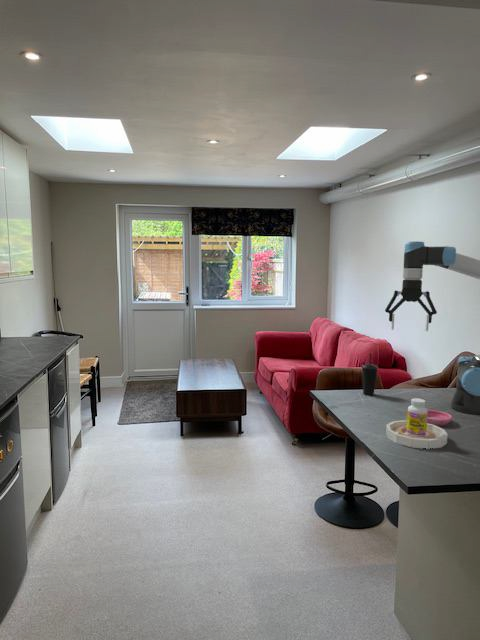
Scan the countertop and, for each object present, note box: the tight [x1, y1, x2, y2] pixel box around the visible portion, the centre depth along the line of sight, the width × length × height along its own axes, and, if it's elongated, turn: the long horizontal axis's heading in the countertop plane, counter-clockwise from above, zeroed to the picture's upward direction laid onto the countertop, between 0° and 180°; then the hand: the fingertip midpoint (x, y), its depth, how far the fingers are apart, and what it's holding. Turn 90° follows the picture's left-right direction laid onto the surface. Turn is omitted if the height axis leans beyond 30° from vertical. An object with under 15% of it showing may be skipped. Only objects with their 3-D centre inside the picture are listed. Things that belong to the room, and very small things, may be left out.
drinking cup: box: [361, 352, 379, 397], centre depth 221 cm, size 8×8×20 cm
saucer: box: [427, 409, 453, 427], centre depth 184 cm, size 12×12×3 cm
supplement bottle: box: [406, 397, 429, 437], centre depth 165 cm, size 7×7×13 cm
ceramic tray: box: [385, 419, 448, 450], centre depth 166 cm, size 20×20×3 cm
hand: (409, 330), depth 194 cm, fingers open, 13 cm apart
